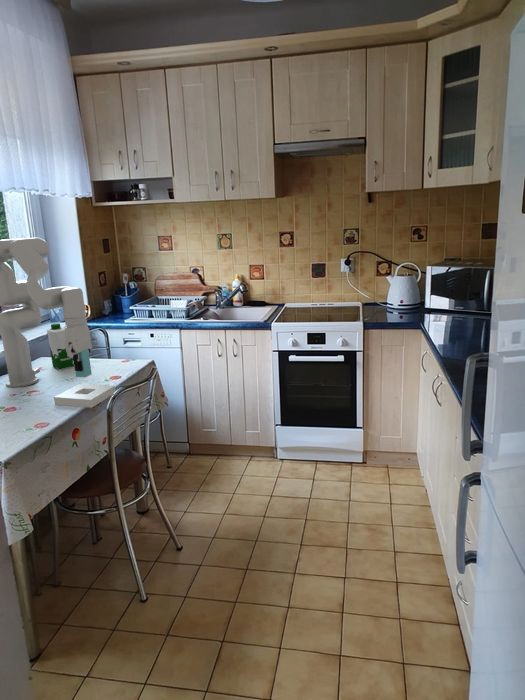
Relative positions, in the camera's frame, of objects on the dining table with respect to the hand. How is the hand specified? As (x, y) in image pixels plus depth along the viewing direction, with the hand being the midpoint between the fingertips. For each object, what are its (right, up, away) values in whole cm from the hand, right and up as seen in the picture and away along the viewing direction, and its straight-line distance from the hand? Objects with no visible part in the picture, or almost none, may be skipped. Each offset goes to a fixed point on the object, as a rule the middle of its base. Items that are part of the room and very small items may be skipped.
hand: (82, 368), depth 199 cm
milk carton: (-25, -1, +49) cm, 55 cm away
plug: (0, -3, +1) cm, 3 cm away
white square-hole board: (+1, -11, +6) cm, 13 cm away
